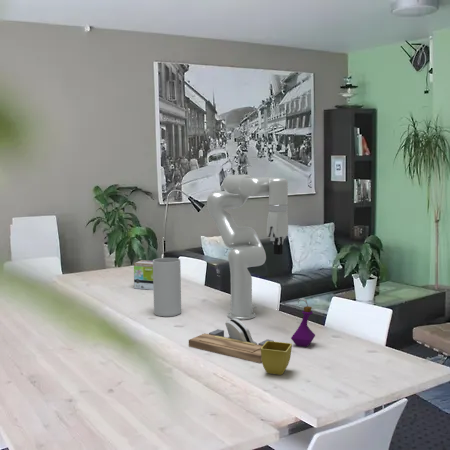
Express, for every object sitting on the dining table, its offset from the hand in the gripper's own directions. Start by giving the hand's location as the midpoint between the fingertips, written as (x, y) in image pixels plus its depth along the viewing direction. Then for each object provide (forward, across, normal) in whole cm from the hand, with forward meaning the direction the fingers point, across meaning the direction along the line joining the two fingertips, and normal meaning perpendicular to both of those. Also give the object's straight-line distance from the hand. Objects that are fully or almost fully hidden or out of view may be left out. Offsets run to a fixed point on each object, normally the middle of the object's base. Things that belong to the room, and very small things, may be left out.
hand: (278, 253), depth 232 cm
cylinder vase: (+32, +5, -56) cm, 65 cm away
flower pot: (+32, +40, +23) cm, 56 cm away
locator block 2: (+32, +23, +8) cm, 40 cm away
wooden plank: (+32, +31, -2) cm, 45 cm away
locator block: (+32, +23, -14) cm, 42 cm away
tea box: (+32, -30, -100) cm, 109 cm away
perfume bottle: (+32, +10, +17) cm, 38 cm away
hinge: (+32, +21, -5) cm, 39 cm away
